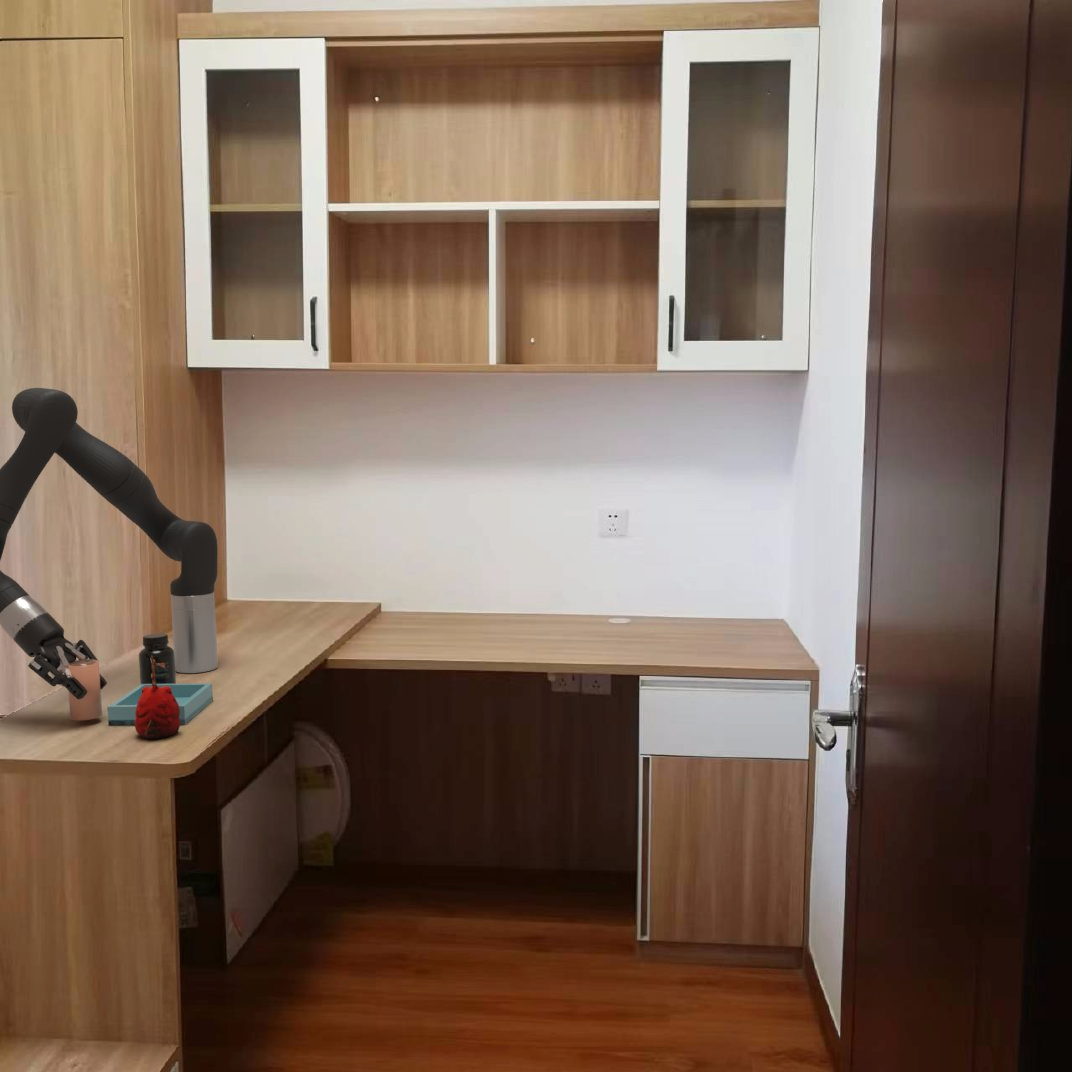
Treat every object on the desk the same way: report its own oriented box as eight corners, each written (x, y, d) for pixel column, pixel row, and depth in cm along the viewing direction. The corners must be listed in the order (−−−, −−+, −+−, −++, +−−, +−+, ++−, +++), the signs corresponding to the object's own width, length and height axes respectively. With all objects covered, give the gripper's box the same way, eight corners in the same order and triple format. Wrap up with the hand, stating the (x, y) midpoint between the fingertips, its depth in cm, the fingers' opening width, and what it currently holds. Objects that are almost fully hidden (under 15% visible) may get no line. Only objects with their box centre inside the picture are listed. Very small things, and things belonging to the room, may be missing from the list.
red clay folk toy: (184, 728, 182) (180, 647, 181) (176, 740, 176) (171, 656, 174) (140, 730, 181) (135, 648, 180) (130, 742, 174) (125, 658, 173)
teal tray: (142, 701, 200) (141, 683, 200) (212, 700, 200) (212, 683, 200) (108, 725, 184) (107, 706, 184) (185, 724, 184) (184, 706, 184)
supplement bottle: (181, 688, 210) (178, 631, 208) (170, 697, 203) (167, 638, 202) (147, 688, 210) (144, 632, 208) (135, 697, 203) (132, 639, 201)
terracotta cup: (78, 711, 189) (75, 659, 188) (107, 711, 189) (103, 659, 188) (64, 720, 184) (61, 666, 183) (94, 720, 184) (90, 666, 182)
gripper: (16, 620, 178) (81, 688, 178) (67, 604, 192) (128, 668, 192) (-9, 648, 180) (56, 716, 179) (44, 631, 194) (104, 694, 193)
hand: (93, 691), depth 186 cm, fingers closed on terracotta cup, 5 cm apart
